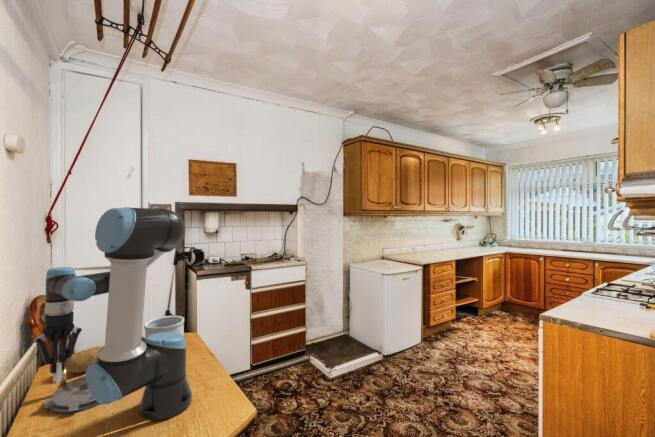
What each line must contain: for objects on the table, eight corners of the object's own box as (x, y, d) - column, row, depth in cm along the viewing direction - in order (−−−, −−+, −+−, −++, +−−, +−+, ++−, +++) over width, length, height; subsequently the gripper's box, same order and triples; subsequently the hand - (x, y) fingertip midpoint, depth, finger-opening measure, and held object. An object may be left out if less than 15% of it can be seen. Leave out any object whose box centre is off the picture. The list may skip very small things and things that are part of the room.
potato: (112, 364, 126) (112, 345, 126) (72, 381, 113) (72, 359, 113) (97, 360, 130) (97, 341, 130) (58, 375, 117) (57, 355, 117)
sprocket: (111, 404, 97) (111, 382, 97) (32, 418, 90) (32, 395, 90) (129, 372, 117) (128, 354, 117) (66, 381, 110) (65, 363, 110)
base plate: (120, 400, 101) (120, 398, 101) (42, 421, 90) (42, 418, 90) (122, 375, 117) (122, 373, 117) (56, 390, 107) (56, 388, 107)
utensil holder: (157, 375, 117) (157, 330, 117) (137, 365, 125) (136, 323, 125) (191, 359, 129) (191, 319, 129) (171, 351, 137) (171, 313, 137)
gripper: (40, 319, 97) (37, 393, 97) (86, 309, 109) (84, 375, 108) (30, 315, 100) (27, 387, 100) (75, 306, 112) (73, 370, 112)
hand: (56, 381), depth 104 cm, fingers closed
